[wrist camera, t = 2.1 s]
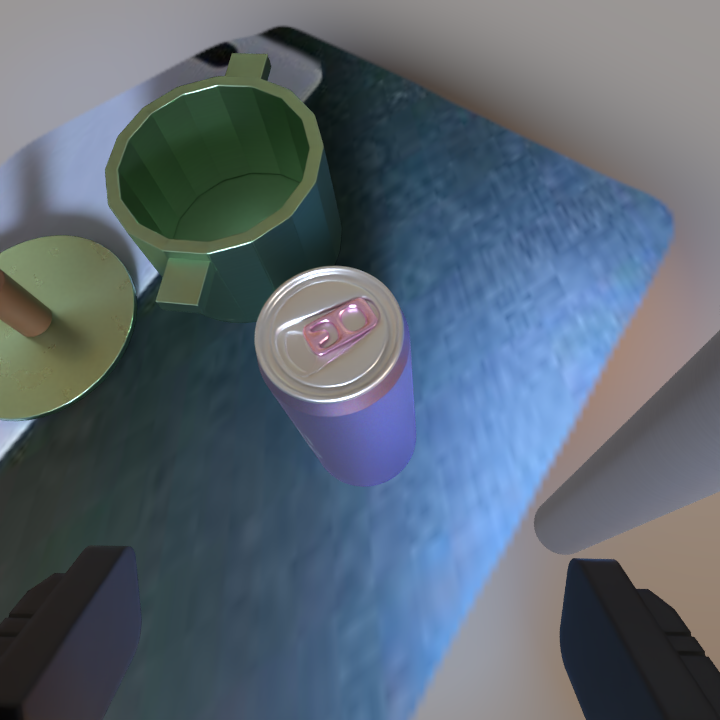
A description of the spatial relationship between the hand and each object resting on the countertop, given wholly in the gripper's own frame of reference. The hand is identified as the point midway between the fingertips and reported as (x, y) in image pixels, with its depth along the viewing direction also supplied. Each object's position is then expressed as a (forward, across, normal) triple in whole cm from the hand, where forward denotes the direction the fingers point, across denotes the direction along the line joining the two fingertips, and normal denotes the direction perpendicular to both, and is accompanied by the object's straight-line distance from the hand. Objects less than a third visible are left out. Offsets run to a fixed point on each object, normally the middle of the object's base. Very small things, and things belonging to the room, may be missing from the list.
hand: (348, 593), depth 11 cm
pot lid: (+30, +22, +2) cm, 37 cm away
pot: (+33, +8, -3) cm, 34 cm away
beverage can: (+24, 0, +7) cm, 25 cm away
